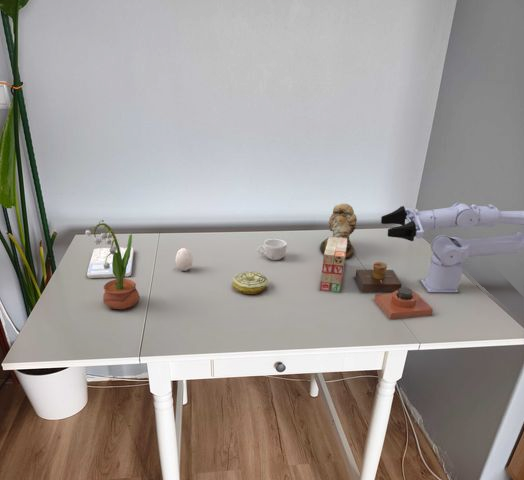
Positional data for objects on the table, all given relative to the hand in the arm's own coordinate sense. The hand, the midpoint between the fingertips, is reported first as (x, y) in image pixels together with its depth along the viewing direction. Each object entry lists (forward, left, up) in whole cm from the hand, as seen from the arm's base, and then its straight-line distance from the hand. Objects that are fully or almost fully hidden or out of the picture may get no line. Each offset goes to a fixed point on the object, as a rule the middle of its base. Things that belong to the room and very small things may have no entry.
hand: (384, 226), depth 146 cm
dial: (-1, -1, -17) cm, 17 cm away
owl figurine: (+7, -28, -20) cm, 35 cm away
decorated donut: (+39, +1, -20) cm, 44 cm away
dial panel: (-1, -1, -20) cm, 20 cm away
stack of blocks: (+12, -7, -20) cm, 24 cm away
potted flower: (+77, +11, -20) cm, 80 cm away
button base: (-5, +13, -20) cm, 24 cm away
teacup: (+31, -21, -20) cm, 42 cm away
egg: (+60, -11, -20) cm, 64 cm away
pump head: (-5, +13, -16) cm, 21 cm away
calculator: (+84, -15, -20) cm, 88 cm away
